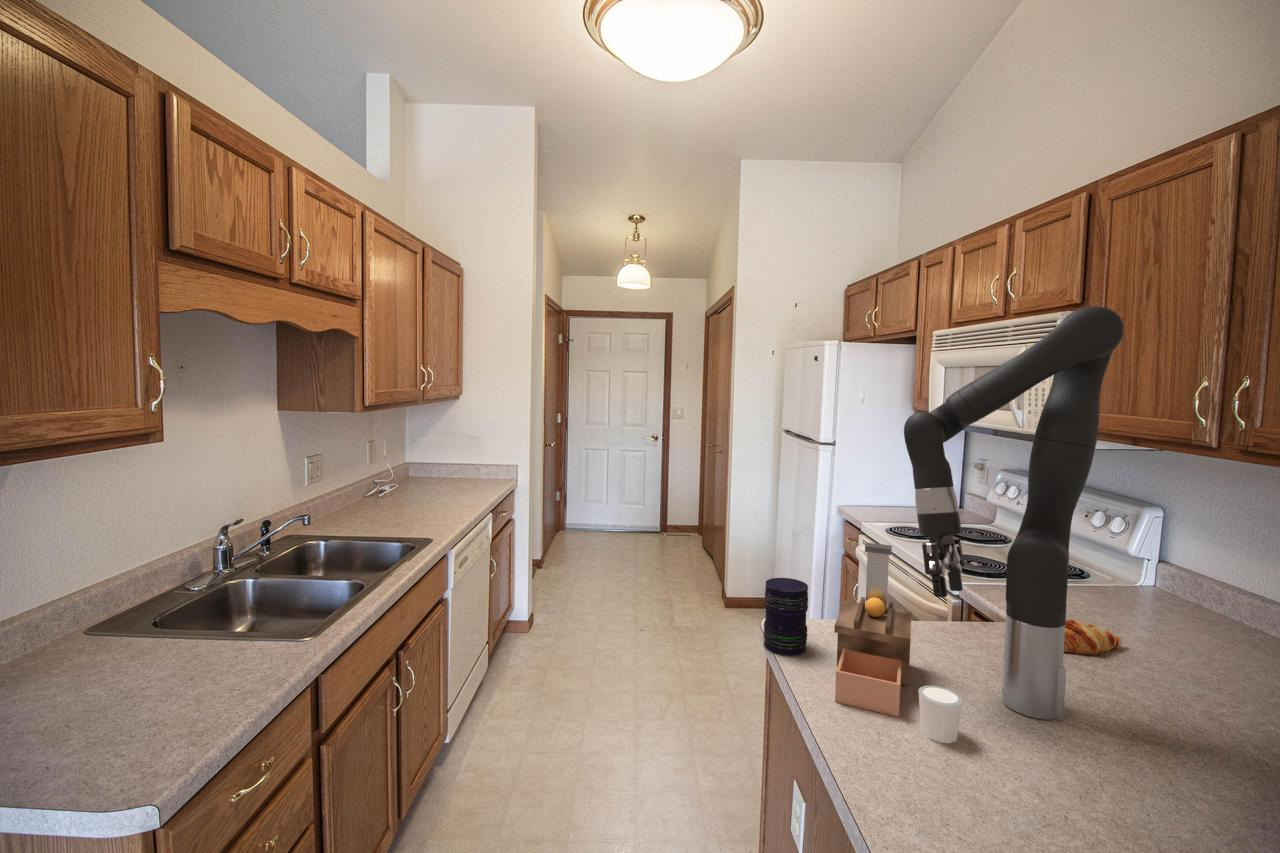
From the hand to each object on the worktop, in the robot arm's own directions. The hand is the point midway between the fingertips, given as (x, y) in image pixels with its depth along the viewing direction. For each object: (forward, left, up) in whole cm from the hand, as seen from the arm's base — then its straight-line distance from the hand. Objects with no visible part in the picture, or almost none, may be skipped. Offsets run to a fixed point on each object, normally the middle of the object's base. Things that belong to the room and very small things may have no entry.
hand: (949, 593), depth 112 cm
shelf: (+14, -2, -20) cm, 24 cm away
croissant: (-29, -39, -21) cm, 53 cm away
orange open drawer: (+14, +8, -20) cm, 26 cm away
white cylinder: (+2, +16, -20) cm, 26 cm away
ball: (+14, -3, -6) cm, 15 cm away
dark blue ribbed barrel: (+33, -6, -20) cm, 39 cm away
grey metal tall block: (+14, -8, -8) cm, 17 cm away
